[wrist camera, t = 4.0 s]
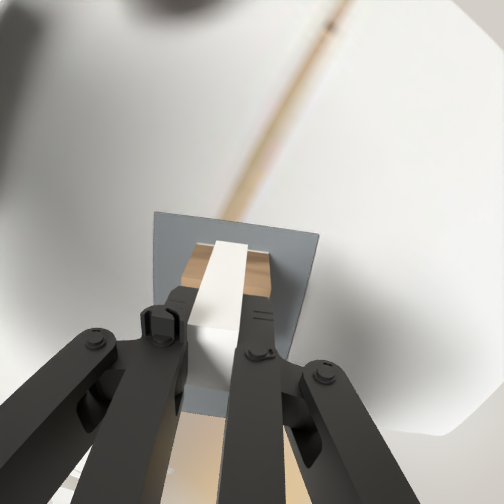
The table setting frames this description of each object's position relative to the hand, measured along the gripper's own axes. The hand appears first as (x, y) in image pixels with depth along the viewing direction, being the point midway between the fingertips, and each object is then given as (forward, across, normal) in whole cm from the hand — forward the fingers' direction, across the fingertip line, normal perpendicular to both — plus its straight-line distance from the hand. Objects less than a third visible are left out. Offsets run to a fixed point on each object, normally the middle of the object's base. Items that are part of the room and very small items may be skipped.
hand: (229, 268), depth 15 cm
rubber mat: (+15, 0, -18) cm, 23 cm away
